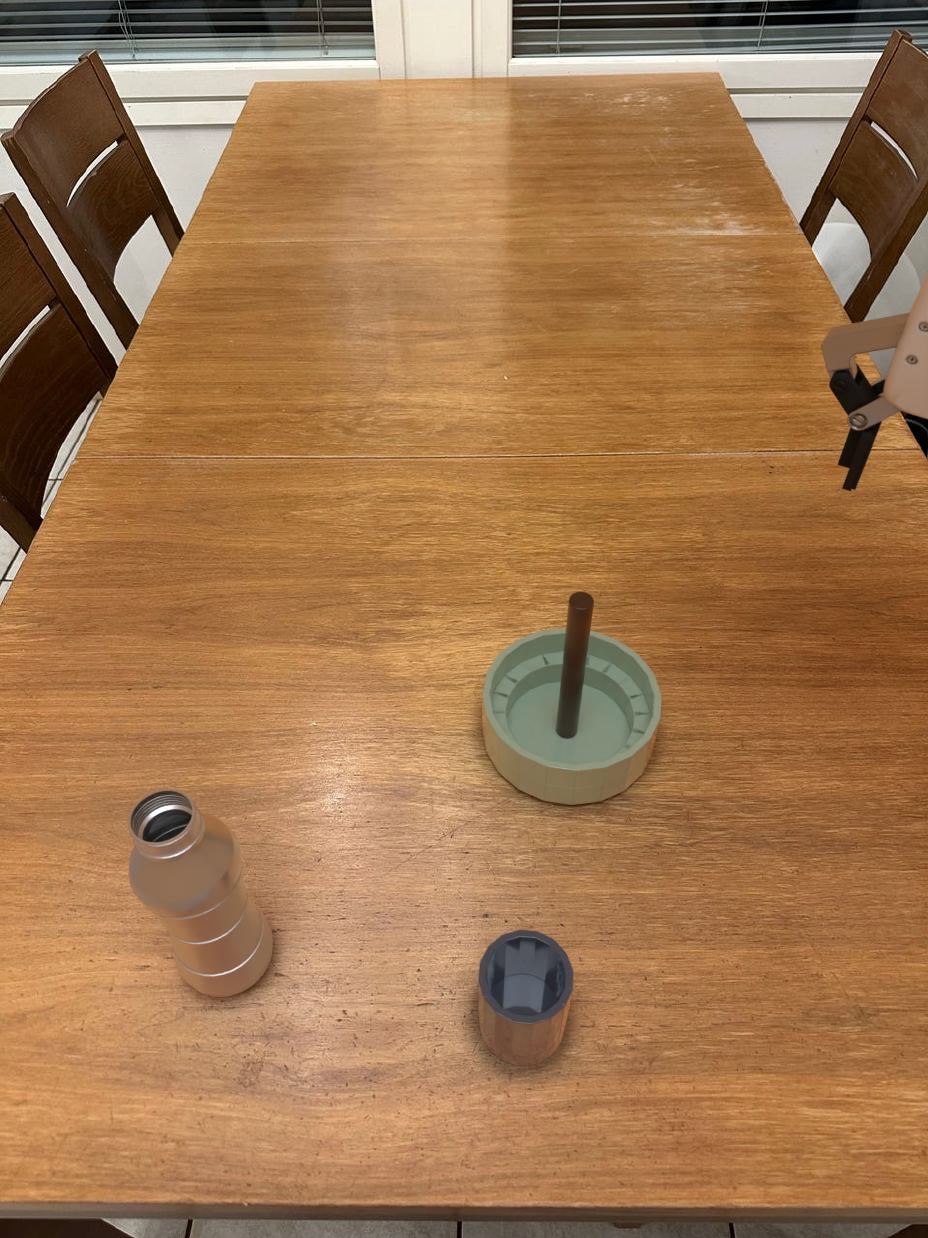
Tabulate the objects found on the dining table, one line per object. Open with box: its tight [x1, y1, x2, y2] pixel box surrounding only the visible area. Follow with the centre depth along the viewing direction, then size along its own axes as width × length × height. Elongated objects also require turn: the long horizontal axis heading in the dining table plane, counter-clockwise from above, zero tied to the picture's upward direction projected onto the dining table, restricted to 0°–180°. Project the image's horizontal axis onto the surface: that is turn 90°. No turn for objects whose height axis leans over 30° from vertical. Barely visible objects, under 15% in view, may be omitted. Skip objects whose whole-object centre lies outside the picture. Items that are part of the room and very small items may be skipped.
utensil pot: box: [477, 929, 574, 1067], centre depth 61 cm, size 6×6×8 cm
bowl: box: [481, 627, 663, 806], centre depth 78 cm, size 14×14×6 cm
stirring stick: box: [556, 591, 595, 739], centre depth 74 cm, size 2×2×16 cm
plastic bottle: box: [127, 788, 274, 998], centre depth 60 cm, size 6×7×20 cm
